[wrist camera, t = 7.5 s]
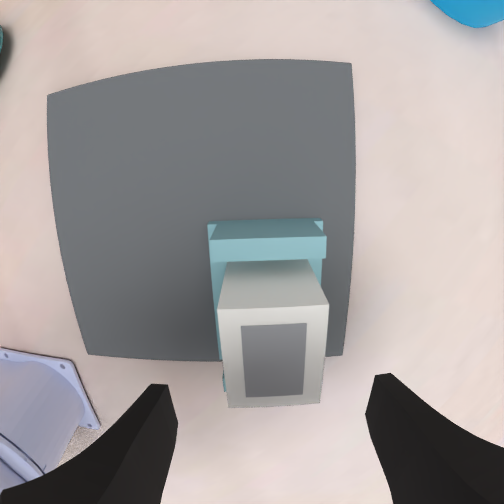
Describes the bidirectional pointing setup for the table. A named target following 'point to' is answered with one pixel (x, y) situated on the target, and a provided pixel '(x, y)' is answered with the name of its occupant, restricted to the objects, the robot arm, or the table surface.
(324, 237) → the connector holder
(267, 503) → the table surface
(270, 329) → the connector plug
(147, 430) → the robot arm
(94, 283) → the desk mat
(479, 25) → the mug
